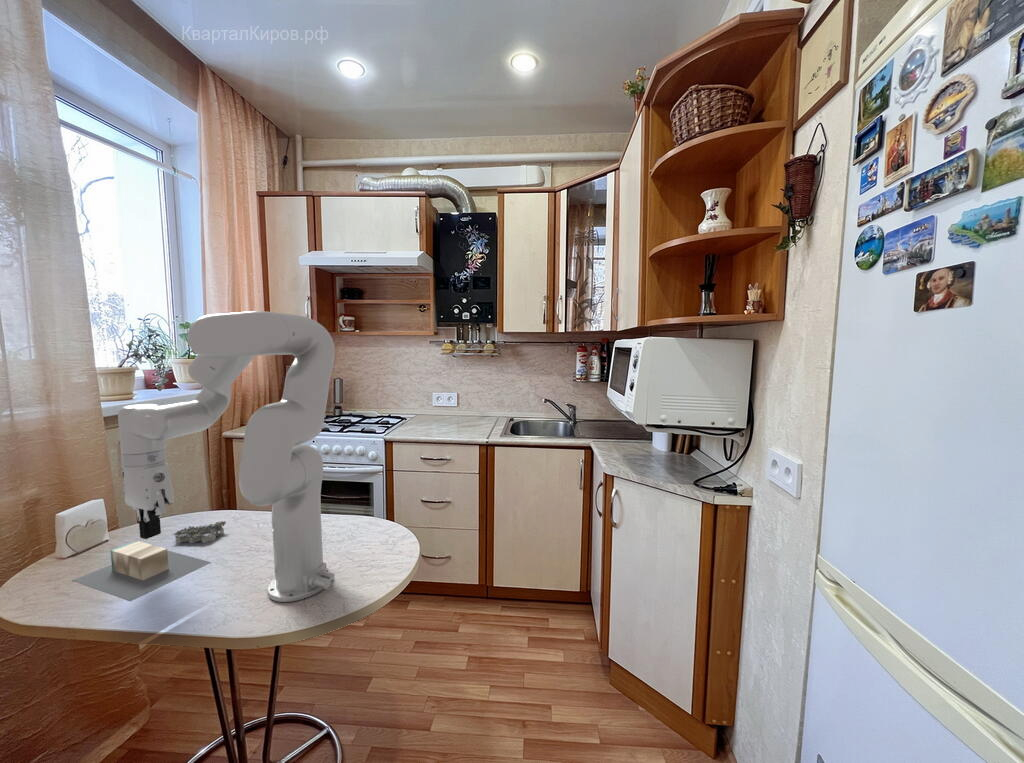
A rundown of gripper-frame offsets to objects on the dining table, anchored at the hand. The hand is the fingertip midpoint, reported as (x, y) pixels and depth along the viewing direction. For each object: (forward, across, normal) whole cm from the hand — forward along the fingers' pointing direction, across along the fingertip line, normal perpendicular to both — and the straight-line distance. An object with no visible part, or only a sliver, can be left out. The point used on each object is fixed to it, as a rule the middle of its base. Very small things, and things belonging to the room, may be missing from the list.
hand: (150, 535), depth 92 cm
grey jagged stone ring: (+10, +9, -16) cm, 21 cm away
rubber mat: (+10, +4, 0) cm, 11 cm away
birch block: (+7, -1, 0) cm, 7 cm away
